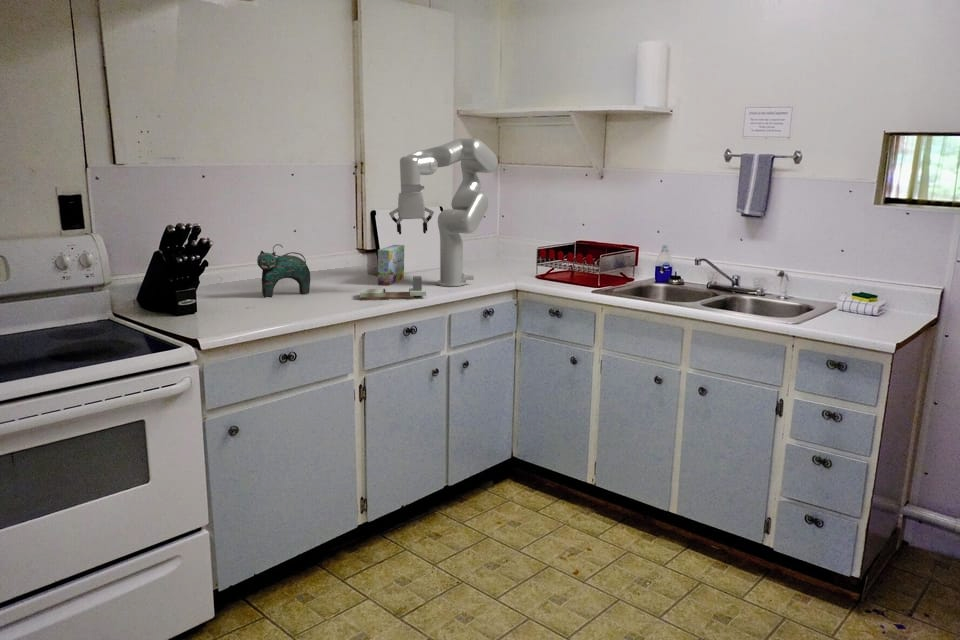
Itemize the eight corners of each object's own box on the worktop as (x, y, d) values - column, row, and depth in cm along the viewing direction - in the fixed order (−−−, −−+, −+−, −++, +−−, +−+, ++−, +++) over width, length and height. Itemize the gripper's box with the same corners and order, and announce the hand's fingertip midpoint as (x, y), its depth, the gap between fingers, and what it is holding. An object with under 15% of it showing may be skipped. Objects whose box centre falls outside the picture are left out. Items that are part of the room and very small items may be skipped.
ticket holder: (411, 294, 287) (411, 287, 286) (413, 299, 276) (413, 292, 276) (360, 295, 284) (360, 288, 284) (360, 300, 274) (359, 293, 273)
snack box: (390, 285, 306) (389, 250, 303) (377, 285, 307) (376, 249, 304) (405, 278, 326) (404, 244, 323) (393, 277, 327) (392, 244, 324)
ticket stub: (424, 291, 287) (424, 275, 285) (426, 295, 278) (425, 278, 276) (409, 291, 286) (408, 275, 284) (410, 295, 277) (410, 278, 276)
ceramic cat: (261, 298, 275) (258, 245, 270) (256, 296, 280) (253, 244, 276) (312, 294, 285) (310, 243, 280) (307, 291, 290) (305, 241, 286)
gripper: (431, 187, 286) (433, 231, 290) (387, 189, 283) (389, 233, 287) (434, 189, 279) (435, 233, 283) (388, 190, 276) (390, 235, 280)
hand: (412, 233), depth 285 cm, fingers open, 9 cm apart
